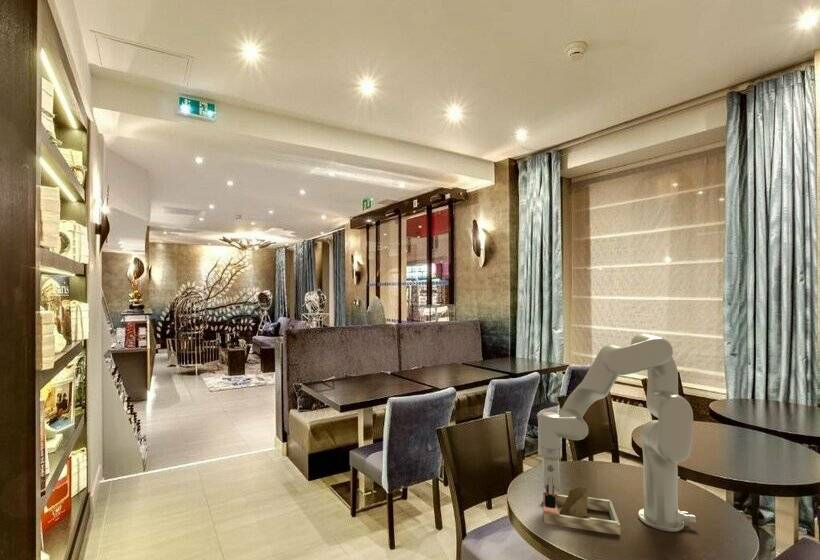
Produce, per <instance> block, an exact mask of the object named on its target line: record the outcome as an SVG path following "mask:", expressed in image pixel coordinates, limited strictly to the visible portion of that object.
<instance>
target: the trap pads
mask: <svg viewBox="0 0 820 560" xmlns="http://www.w3.org/2000/svg"><path fill="white" fill-rule="evenodd" d="M545 493H546V490H545V491H544V490H542V495H543V494H545ZM557 494H558V492H555V495H556V496H557ZM542 503H543V505H542V506H543V507H542V508H543V515H544V514H550V515H556V516H559V510H558V505H557V504H555V508H548V507H545V502H543V501H542Z"/></svg>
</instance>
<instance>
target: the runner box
mask: <svg viewBox="0 0 820 560" xmlns="http://www.w3.org/2000/svg"><path fill="white" fill-rule="evenodd" d="M567 497H568V495H563V494H558V493H557V496H556V495H555V504H557V506H558V505H559V506H562V505H563V504H564V503H565V502H566V499H567ZM543 502H545V494H543V493H542V503H543ZM586 507H587V510H593V511H599V512H600V511H601V512H608V513H609V516H610V518H611V519H610V520H609V519H606V518H605V519H603V518H597V517H589V518H586V517H573V516H567V515H560V514H559V516H556V515H550V514H544V513H543V524H547V525H553V526H561V527H566V528H573V529H578V530H586V531H593V532H599V533H604V534H611V535H618V536H621V523H620V520H619V518H618V515H617V512H616V510H615V506H614V505H613V502H612V501H611V500H610V499H605V498H596V497H590V496H588V500H587V505H586Z"/></svg>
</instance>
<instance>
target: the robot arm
mask: <svg viewBox="0 0 820 560" xmlns="http://www.w3.org/2000/svg"><path fill="white" fill-rule="evenodd" d="M673 353H674V349H673V346H672V344H671V343H670V342H669V340H667V339H666V338H664V337H661V336H656V335H652V334H650V333H649V334H647V333H639V334H637V335H634V336H633V337H632V339H631V342H630V345H626V346H618V345H615V344H607V345H605V346H602V348H601V349H600V350H599V351H598V353H597V355H596V357H595V358H594V360H593V362H592V364H591V365H590V367H589V369H588V371H587V373H586V374H585V376H584V378H583V379H582V381H581V382H580V383H579V384H578V385H577V386H576V387H575V389H573V391H572V392H571V393H570V394H569V395H568V397H567V398H566V400H565V402H564V404H563V405H562V407H561V409H560V411H559V413H556V412H553V411H544V412H543V411H542V412H540V413H539V414H538V417H537V425H538V426H537V427H538V428H537V434H538V435H537V437H538V438H537V441H538V442H537V443H538V444H537V445H538V446H537V447H538V448H537V450H538V451H537V453H538V456H539V457H540V458H541V466H542V467H541V472H542V483H543V488H544V489H545V491H546V493H545V507H548V508H555V493H556V492H555V490H556V491H558V492H559V491H560V459H561V458H563V441H562V440H563V439H568V440H572V441H580V440H581V441H582V440H584V439H586V437H588V435H589V426H588V423H587V422H586V421H585V420H584V418H583V417H584V415H585V414H586V412H587V410H588V409H589V407H591V405H593V404H594V403H595V402H596V401H599V400H601V399H604V398H606V397H607V396H608V395H609V393H610V391H611V390H612V388H613V387H614V384H615V382H616V380H617V379H618V377H619V376H625V375H626V376H627V375H632V374H635V373H639V372H642V371H646V372H647V388H646V401H645V403H646V408H647V410H648V411H649V412H650V414H651V415H653V416H654V417H656V418H657V420H656V419H653V420H649V421H647V422H645V423H644V424H643V426H642V427H641V430H640V443H641V448H642V449H641V450H642V460H643V461H642V462H643V470H642V471H643V472H642V473H643V474H642V475H643V476H642V477H643V479H642V480H643V487H642V488H643V508H641V509H639V510H638V515H637V516H638V519H639V520H640V521H641V522H643V523H644V524H645V525H647V526H648V527H650V528H651V527H652V528H653V529H657V530H659V531H662V532H663V531H665V532H670V533H671V532H673V533H674V532H679V531H680V532H681V530H683V529H684V528H685V521H687V522H690V523H696V522H697V517H696V516H695V515H694V514H689V512H688V511H684V510H680V509H679V504H678V503H679V497H678V494H679V493H678V491H679V489H678V488H679V487H678V484H679V482H678V481H679V479H678V476H679V474H678V473H679V472H678V471H679V470H678V464H680V463H681V464H682V463H684V462H685V461H686V460H687V459H688V458H689V457H690V455H691V452H692V447H693V430H694V412H693V408H692V406H691V404H690V403H689V401H688V400H687V399H686V398H685V397H684V396H682V395H679V373H678V366H677V364H676V362H675V359H674V357H673Z"/></svg>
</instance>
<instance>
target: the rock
mask: <svg viewBox="0 0 820 560" xmlns="http://www.w3.org/2000/svg"><path fill="white" fill-rule="evenodd" d="M567 496H568V497H567V499H566V502H565V503H564V504H563V505H561V508H560V511H558V513H559V514H560V515H567V516H573V517H580V518H586V517H587V516H588V509H587V507H586V505H587V500H588V497H589V496H588V490H587V488H586V487H582V486H577V487H576V488H573V489H572V490H569V493H568V495H567Z"/></svg>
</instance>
